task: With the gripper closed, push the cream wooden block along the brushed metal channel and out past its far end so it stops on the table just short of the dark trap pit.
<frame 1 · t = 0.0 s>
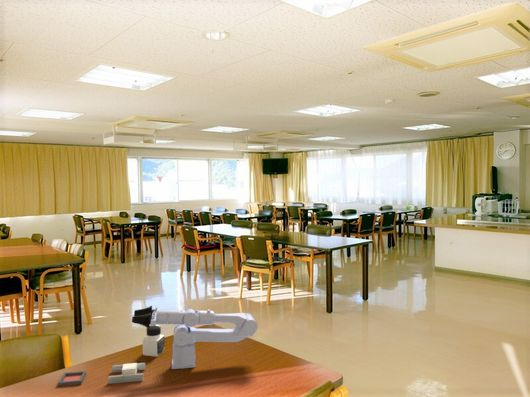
hand: (133, 316, 166), 22 cm above the table, tool horizontal, fingers open, 7 cm apart
block: (129, 376, 161), on the table
trap pit: (72, 380, 157), on the table
medicine bottle: (153, 353, 182), on the table
channel: (127, 376, 161), on the table
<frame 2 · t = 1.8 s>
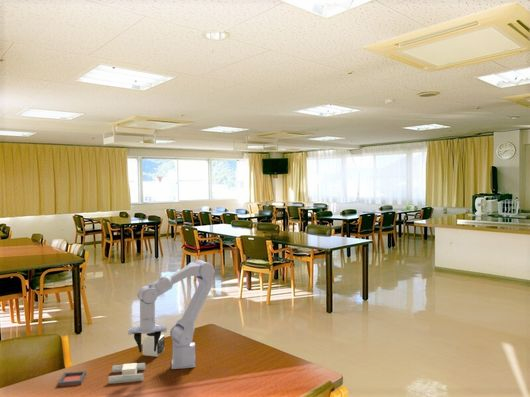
hand: (147, 350, 162), 9 cm above the table, tool pointing down, fingers open, 5 cm apart
nothing on the table moved.
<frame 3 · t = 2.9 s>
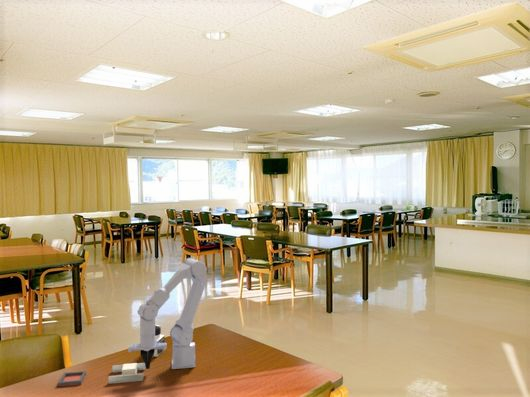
hand: (147, 367, 162), 3 cm above the table, tool pointing down, fingers closed
nothing on the table moved.
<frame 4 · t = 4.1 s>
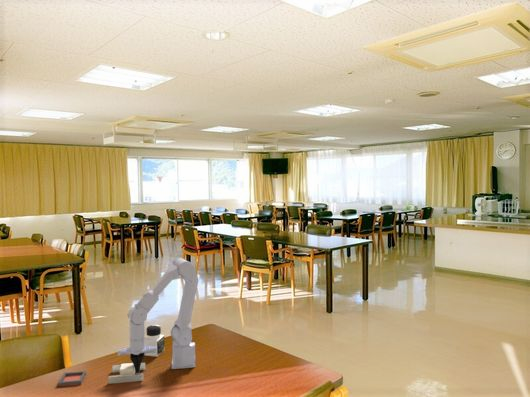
hand: (137, 371, 161), 1 cm above the table, tool pointing down, fingers closed
block: (127, 376, 161), on the table, touching gripper
everything else where it was.
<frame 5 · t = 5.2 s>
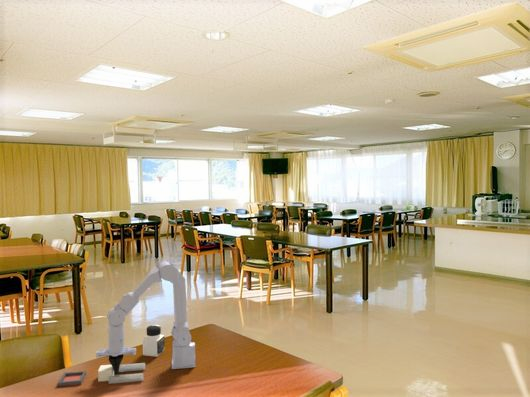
hand: (116, 373, 160), 1 cm above the table, tool pointing down, fingers closed
block: (106, 377, 159), on the table, touching gripper
everything else where it was.
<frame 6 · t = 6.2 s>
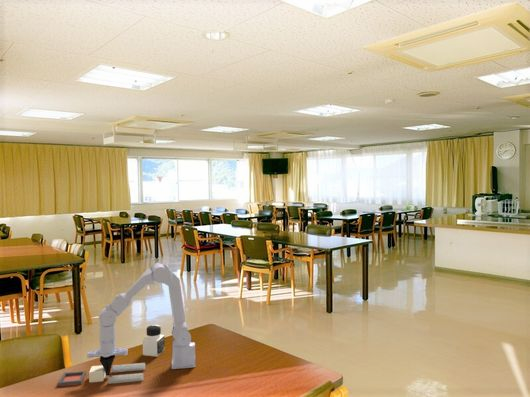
hand: (108, 374, 159), 1 cm above the table, tool pointing down, fingers closed
block: (97, 378, 158), on the table, touching gripper
everything else where it was.
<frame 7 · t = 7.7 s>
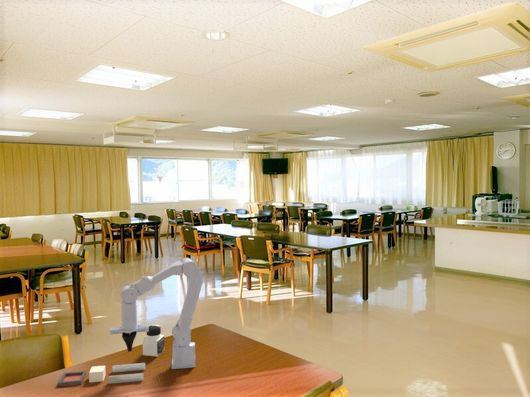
hand: (129, 350, 162), 9 cm above the table, tool pointing down, fingers closed
block: (97, 379, 158), on the table
everything else where it was.
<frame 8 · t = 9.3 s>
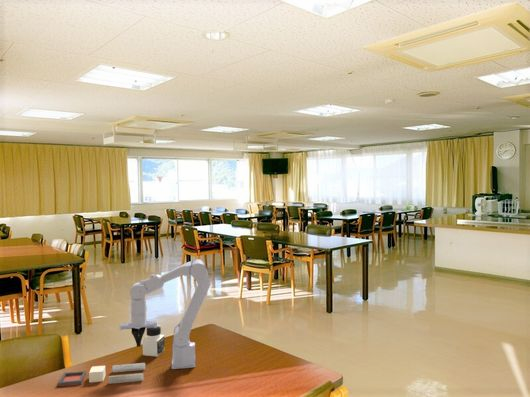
hand: (138, 345, 167), 9 cm above the table, tool pointing down, fingers closed
nothing on the table moved.
at the end: block 0.6 cm from the target spot, on the table; block touching table; block tilted 0° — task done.
